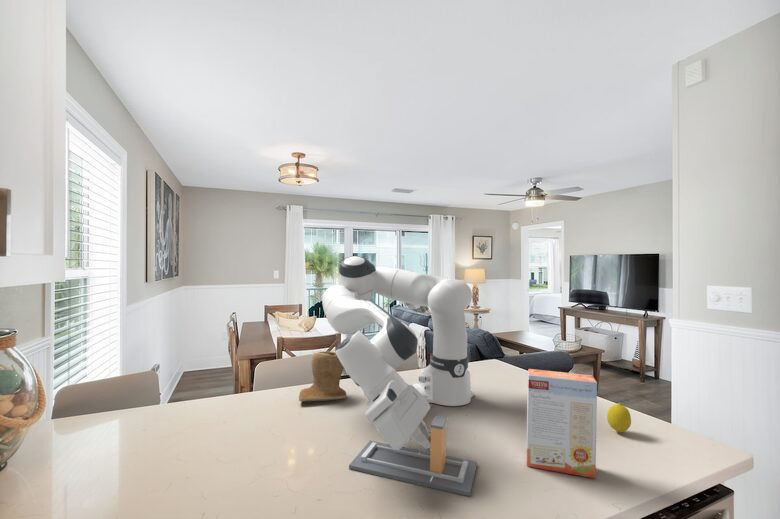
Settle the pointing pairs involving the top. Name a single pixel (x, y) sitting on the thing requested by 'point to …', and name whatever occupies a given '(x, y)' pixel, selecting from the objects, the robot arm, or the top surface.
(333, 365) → the tan ugg boot
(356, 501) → the top surface
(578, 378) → the cracker box
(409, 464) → the grey fader base
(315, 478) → the top surface
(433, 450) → the fader cap
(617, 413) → the lemon
